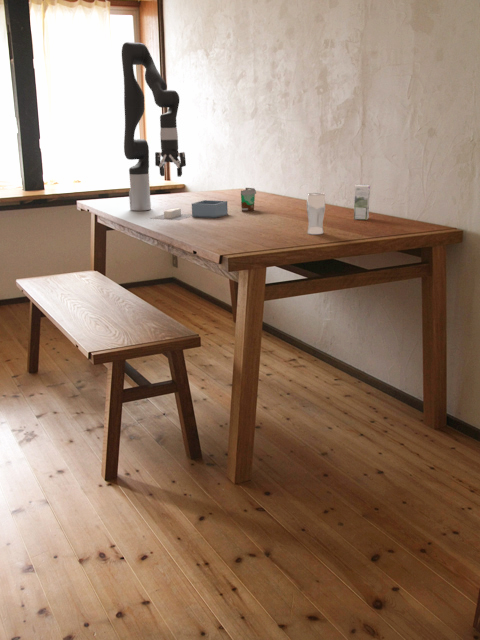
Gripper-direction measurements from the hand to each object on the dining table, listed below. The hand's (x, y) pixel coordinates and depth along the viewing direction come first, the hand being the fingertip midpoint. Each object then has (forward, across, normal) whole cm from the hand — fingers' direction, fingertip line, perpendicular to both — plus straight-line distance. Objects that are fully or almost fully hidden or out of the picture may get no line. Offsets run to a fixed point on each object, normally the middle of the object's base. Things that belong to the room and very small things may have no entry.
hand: (171, 176), depth 285 cm
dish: (+18, +15, +8) cm, 25 cm away
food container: (+18, +26, +28) cm, 42 cm away
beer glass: (+18, +74, -19) cm, 78 cm away
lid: (+19, 0, 0) cm, 19 cm away
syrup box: (+18, +82, +19) cm, 86 cm away
